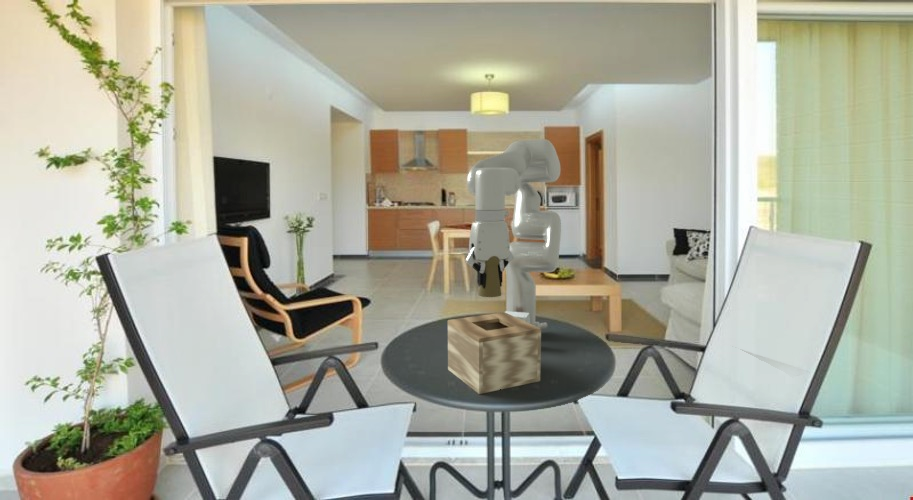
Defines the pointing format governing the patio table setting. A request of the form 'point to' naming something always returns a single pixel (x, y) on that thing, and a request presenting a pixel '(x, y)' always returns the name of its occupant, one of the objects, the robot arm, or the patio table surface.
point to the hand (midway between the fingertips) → (489, 285)
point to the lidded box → (494, 351)
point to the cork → (491, 279)
